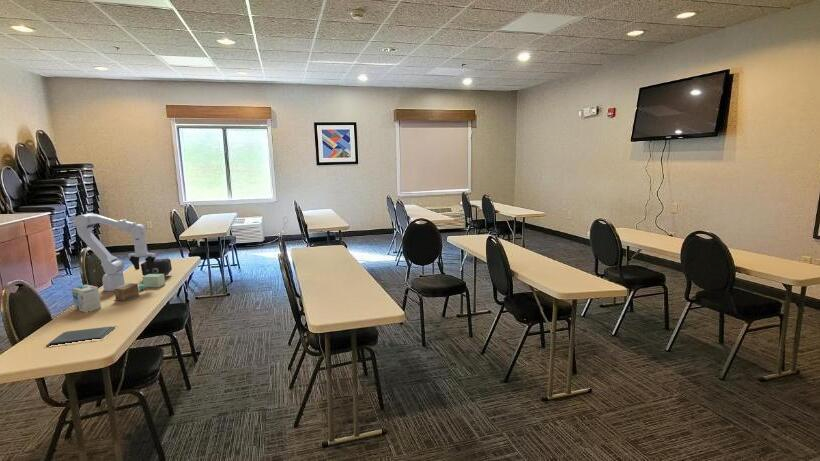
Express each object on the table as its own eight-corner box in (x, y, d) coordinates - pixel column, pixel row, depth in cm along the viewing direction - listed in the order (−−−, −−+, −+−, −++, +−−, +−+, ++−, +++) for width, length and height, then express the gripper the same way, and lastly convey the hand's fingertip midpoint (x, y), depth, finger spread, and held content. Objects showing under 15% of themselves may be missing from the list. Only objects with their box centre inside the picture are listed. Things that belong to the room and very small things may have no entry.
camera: (173, 275, 255) (145, 275, 251) (172, 257, 254) (145, 257, 249) (168, 280, 245) (139, 280, 241) (168, 261, 244) (139, 261, 239)
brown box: (115, 300, 207) (114, 288, 206) (129, 294, 216) (127, 283, 215) (125, 300, 207) (124, 288, 206) (138, 294, 216) (137, 283, 215)
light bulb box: (74, 309, 197) (70, 288, 195) (90, 304, 203) (86, 284, 201) (86, 313, 192) (82, 291, 190) (102, 308, 198) (98, 286, 196)
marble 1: (131, 293, 219) (131, 288, 218) (136, 291, 222) (135, 286, 221) (137, 293, 219) (136, 288, 218) (141, 291, 222) (140, 286, 221)
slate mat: (114, 300, 208) (114, 300, 208) (126, 295, 216) (126, 294, 216) (128, 300, 207) (128, 300, 207) (140, 295, 215) (140, 294, 215)
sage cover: (159, 287, 229) (157, 276, 228) (143, 287, 230) (142, 276, 229) (165, 284, 234) (164, 273, 233) (150, 284, 235) (149, 273, 234)
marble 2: (137, 290, 223) (136, 285, 222) (141, 289, 226) (140, 283, 225) (142, 290, 223) (141, 285, 222) (146, 289, 226) (145, 283, 225)
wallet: (41, 345, 156) (63, 329, 170) (42, 349, 156) (64, 333, 171) (102, 338, 161) (118, 323, 175) (102, 342, 161) (119, 327, 175)
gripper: (122, 247, 223) (126, 271, 225) (147, 247, 222) (151, 271, 224) (132, 244, 230) (135, 268, 232) (156, 244, 228) (159, 268, 231)
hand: (143, 269), depth 229 cm, fingers open, 7 cm apart
